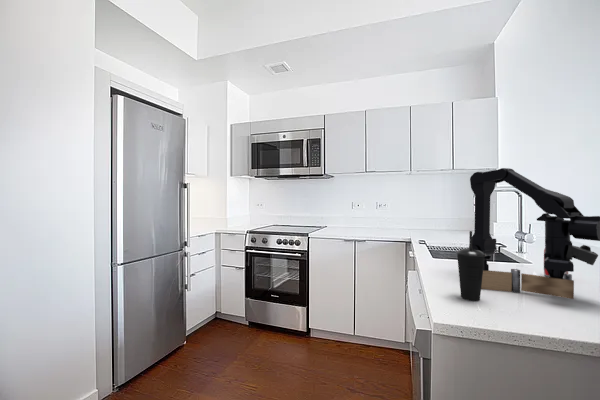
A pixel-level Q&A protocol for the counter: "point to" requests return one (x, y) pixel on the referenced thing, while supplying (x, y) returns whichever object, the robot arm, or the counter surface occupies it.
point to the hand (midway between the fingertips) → (557, 287)
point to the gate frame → (505, 280)
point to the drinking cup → (470, 271)
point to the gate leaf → (547, 285)
